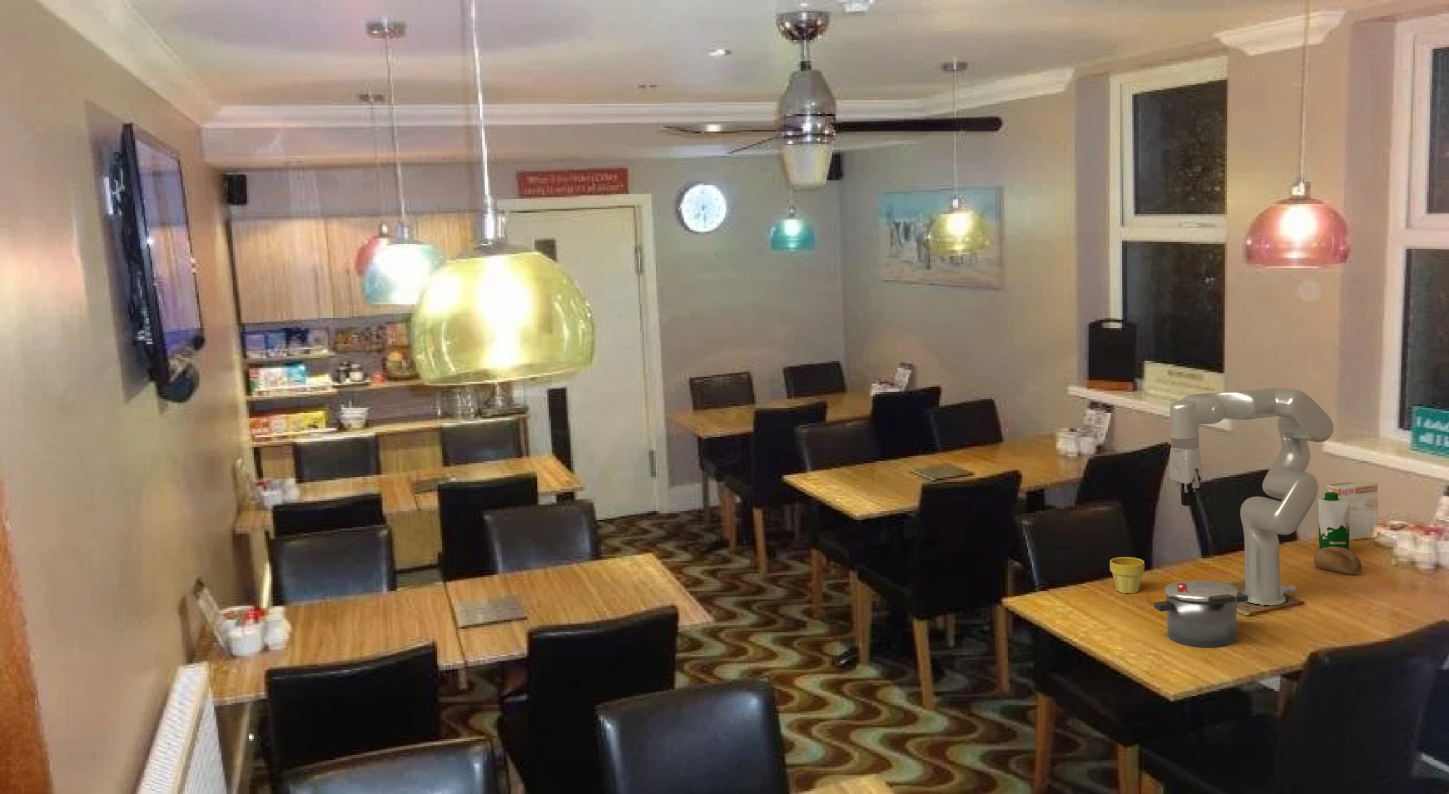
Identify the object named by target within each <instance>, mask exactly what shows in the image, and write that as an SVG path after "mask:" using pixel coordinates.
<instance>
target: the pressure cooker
mask: <svg viewBox="0 0 1449 794" xmlns="http://www.w3.org/2000/svg"><path fill="white" fill-rule="evenodd" d="M1165 596H1166V600H1165V601H1158V602H1156V601H1155V602H1153V607H1154V609H1155V610H1157V611H1159V612H1166V632H1167V634H1166V635H1167V638H1168V639H1170V640H1171V641H1172V642H1175V643H1177V644H1180V645H1183V646H1187V647H1192V648H1193V647H1194V648H1203V649H1205V648H1206V649H1213V648H1214V649H1215V648H1222V647H1223V648H1224V647H1228V646H1232V645H1233V644H1235V643H1237V641H1238V609H1237V608H1238V607H1237V606H1238V605H1237V603H1246V601H1248V595H1246V594H1243V593H1242V592H1238V595H1237V596H1236V597H1235V602H1229V603H1220V604H1213V603H1211V602H1195V601H1185V600H1179V599H1175V598H1172V597H1169V596H1168V595H1166V594H1165Z"/></svg>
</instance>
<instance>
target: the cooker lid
mask: <svg viewBox="0 0 1449 794" xmlns="http://www.w3.org/2000/svg"><path fill="white" fill-rule="evenodd" d="M1164 592H1165V596H1166V595H1168V596H1169V597H1172V598H1175V599H1179V600H1185V601H1195V602H1211V603H1213V604H1220V603H1229V602H1235V597H1236V596H1237V595H1238V593H1239V592H1238V588H1237V587H1236V586H1235V585H1233V584H1231V583H1226V582H1221V581H1213V580H1212V581H1211V580H1183V581H1177V582H1176V581H1175V582H1171V583H1170V584H1168V585H1166V586H1165V587H1164Z"/></svg>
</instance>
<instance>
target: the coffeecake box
mask: <svg viewBox="0 0 1449 794" xmlns="http://www.w3.org/2000/svg"><path fill="white" fill-rule="evenodd" d="M1328 492H1333V493H1338V498H1342V499H1344V500H1346V501H1347V502H1349V503H1350V509H1349V540H1350V541H1352V540H1351V539H1358V538H1368V539H1371V538H1370V537H1371V536H1372V531H1373V527H1374V526H1375V525H1376V524H1378V523H1379V522H1378V521H1379V520H1378V519H1379V518H1378V516H1379V513H1378V511H1379V510H1378V508H1379V507H1378V506H1379V503H1378V502H1379V501H1378V500H1379V499H1378V495H1379V494H1378V483H1376V482H1371V481H1369V480H1364V479H1363V480H1357V481H1349V482H1348V481H1347V482H1340V483H1338V482H1337V483H1330V484H1326V493H1328Z"/></svg>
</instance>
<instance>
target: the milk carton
mask: <svg viewBox="0 0 1449 794" xmlns="http://www.w3.org/2000/svg"><path fill="white" fill-rule="evenodd" d="M1317 502H1318V503H1317V504H1318V544H1319V550H1320V549H1321V548H1325V547H1327V548H1328V547H1341V548H1345V549H1348V550H1350V541H1349V509H1350V503H1349V502H1347V501H1346V500H1344V499H1342V498H1338V493H1333V492H1328V493H1327V492H1325V493H1324V498H1317Z"/></svg>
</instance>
